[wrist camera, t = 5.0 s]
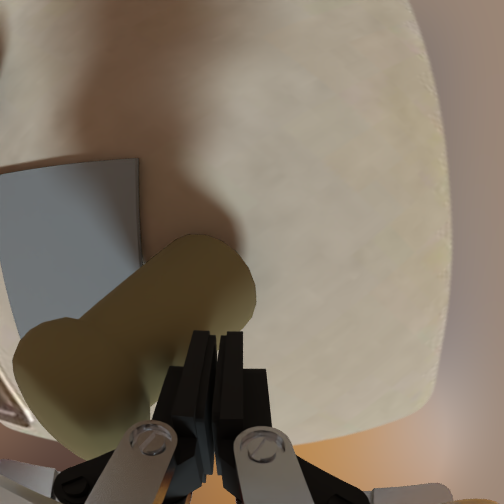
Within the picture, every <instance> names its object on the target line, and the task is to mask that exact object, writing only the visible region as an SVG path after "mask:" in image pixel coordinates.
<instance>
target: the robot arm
mask: <svg viewBox="0 0 504 504" xmlns="http://www.w3.org/2000/svg"><path fill="white" fill-rule="evenodd" d="M214 452H215V457H216V465H217V473H218V475H222V480H223V487H224V488H225V489H226V490H227V491H229V492H230V493H231V494H232V495H234V496H235V497H236V504H499V503H497V502H495V501H492V500H487V499H463V500H457V501H453V496H452V494H451V492H450V490H449V489H448V488H447V487H446V486H445V485H442V484H440V483H428V484H420V485H412V486H403V487H390V488H374V489H373V490H372V491H361V490H360V489H358V488H357V487H354V486H352V485H350V484H348V483H346V482H344V481H342V480H340V479H338V478H336V477H334V476H332V475H331V474H329V473H327V472H325V471H323V470H321V469H319V468H318V467H316V466H314V465H312V464H310V463H309V462H307V461H305V460H303V459H301V458H300V457H298V456H297V455H296V454H295V452H294V449H293V446H292V444H291V441H290V440H289V438H288V436H287V435H285V434H284V433H283V432H282V431H280V430H278V429H276V428H272V423H271V413H270V403H269V393H268V384H267V374H266V369H243V332H242V331H227V335H221V337H220V345H219V353H218V361H217V344H216V335H210V331H202V330H194V331H193V334H192V337H191V341H190V345H189V348H188V352H187V356H186V359H185V363H184V366H169V368H168V371H167V374H166V377H165V380H164V383H163V386H162V389H161V392H160V395H159V398H158V402H157V405H156V408H155V411H154V414H153V418H152V420H145V421H141V422H138V423H135V424H134V425H132V426H131V427H130V428H129V429H128V430H127V431H126V432H125V434H124V436H123V437H122V439H121V441H120V443H119V444H118V446H117V448H116V449H115V450H112V451H110V452H108V453H105V454H103V455H101V456H98V457H96V458H93V459H91V460H88V461H86V462H84V463H81V464H78V465H76V466H73V467H70V468H68V469H66V470H64V471H62V472H57V471H56V469H54V468H48V467H42V466H36V465H32V464H27V463H22V462H18V461H14V460H9V459H1V460H0V504H190V501H191V498H192V492H193V491H194V490H196V489H197V488H199V487H201V486H202V482H203V483H206V474H209V475H212V474H213V464H214Z"/></svg>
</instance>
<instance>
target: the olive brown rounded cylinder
mask: <svg viewBox="0 0 504 504" xmlns="http://www.w3.org/2000/svg"><path fill="white" fill-rule="evenodd" d="M255 305H256V289H255V283H254V281H253V278H252V275H251V273H250V270H249V268H248V266H247V265H246V264H245V262H244V261H243V260H242V258H241V257H240V256H239V254H238V253H237V252H236V251H234V250H233V249H232V248H231V247H229V246H228V245H227V244H225V243H224V242H223V241H221V240H218V239H215V238H213V237H210V236H207V235H191V234H189V235H187V236H184V237H181V238H179V239H176V240H175V241H173V242H172V243H171V244H169V245H168V246H167V247H166V248H164V249H163V250H162V251H160V252H159V253H158V254H157V255H155V256H154V257H153V258H152V259H150V260H149V261H148V262H146V263H145V264H144V265H143V266H141V267H140V268H139V269H138V270H136V271H135V272H134V273H133V274H132V275H130V276H129V277H128V278H127V279H125V280H124V281H123V282H122V283H121V284H119V285H118V286H117V287H116V288H114V289H113V290H112V291H111V292H110V293H108V294H107V295H106V296H105V297H104V298H102V299H101V300H100V301H99V302H98V303H97V304H95V305H94V306H93V307H92V308H91V309H90V310H88V311H87V312H86V313H85V314H84V315H83V316H81V317H80V318H79V319H74V318H69V317H64V318H59V319H55V320H51V321H47V322H42V323H41V324H39V325H37V326H35V327H34V328H32V329H30V330H29V331H28V332H27V333H26V334H25V336H24V337H23V338H22V339H21V340H20V342H19V344H18V346H17V349H16V351H15V354H14V357H13V360H12V362H13V372H14V376H15V380H16V382H17V384H18V387H19V389H20V391H21V393H22V395H23V397H24V399H25V401H26V403H27V405H28V406H29V408H30V410H31V411H32V412H33V414H34V415H35V417H36V418H37V419H38V421H39V422H40V423H41V424H42V426H43V427H44V428H45V429H46V430H47V431H48V432H49V433H50V434H51V435H52V436H53V437H54V438H55V439H56V440H57V441H58V442H59V443H61V444H62V445H63V446H65V447H66V448H67V449H69V450H70V451H71V452H73V453H74V454H76V455H77V456H79V457H81V458H82V459H84V460H87V461H88V460H91V459H93V458H96V457H98V456H101V455H103V454H105V453H108V452H110V451H112V450H115V449H116V448H117V446H118V444H119V443H120V441H121V439H122V437H123V436H124V434H125V432H126V431H127V430H128V429H129V428H130V427H131V426H132V425H134V424H135V423H138V422H141V421H145V420H150V406H152V405H153V404H154V403H155V402H157V401H158V398H159V395H160V392H161V389H162V386H163V383H164V380H165V377H166V374H167V371H168V368H169V366H184V363H185V359H186V356H187V352H188V348H189V345H190V341H191V337H192V334H193V331H194V330H202V331H210V335H216V344H217V351H218V350H219V345H220V337H221V335H227V331H240V330H241V329H243V328H244V326H245V325H246V324H247V323H248V321H249V320H250V319H251V318H252V315H253V312H254V308H255Z"/></svg>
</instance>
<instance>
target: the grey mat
mask: <svg viewBox="0 0 504 504" xmlns="http://www.w3.org/2000/svg"><path fill="white" fill-rule="evenodd" d="M138 167H139V158H131V159H116V160H104V161H93V162H83V163H74V164H65V165H57V166H50V167H43V168H36V169H30V170H23V171H18V172H12V173H6V174H1V175H0V262H1V268H2V272H3V277H4V282H5V286H6V290H7V294H8V298H9V302H10V306H11V309H12V313H13V316H14V320H15V323H16V326H17V329H18V332H19V335H20V338H21V339H22V338H23V337H24V336H25V334H26V333H27V332H28V331H29V330H30V329H32V328H34V327H35V326H37V325H39V324H41V323H42V322H47V321H51V320H55V319H59V318H64V317H69V318H74V319H79V318H80V317H81V316H83V315H84V314H85V313H86V312H87V311H88V310H90V309H91V308H92V307H93V306H94V305H95V304H97V303H98V302H99V301H100V300H101V299H102V298H104V297H105V296H106V295H107V294H108V293H110V292H111V291H112V290H113V289H114V288H116V287H117V286H118V285H119V284H121V283H122V282H123V281H124V280H125V279H127V278H128V277H129V276H130V275H132V274H133V273H134V272H135V271H136V270H138V269H139V268H140V267H141V266H143V265H142V253H141V238H140V218H139V176H138Z"/></svg>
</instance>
